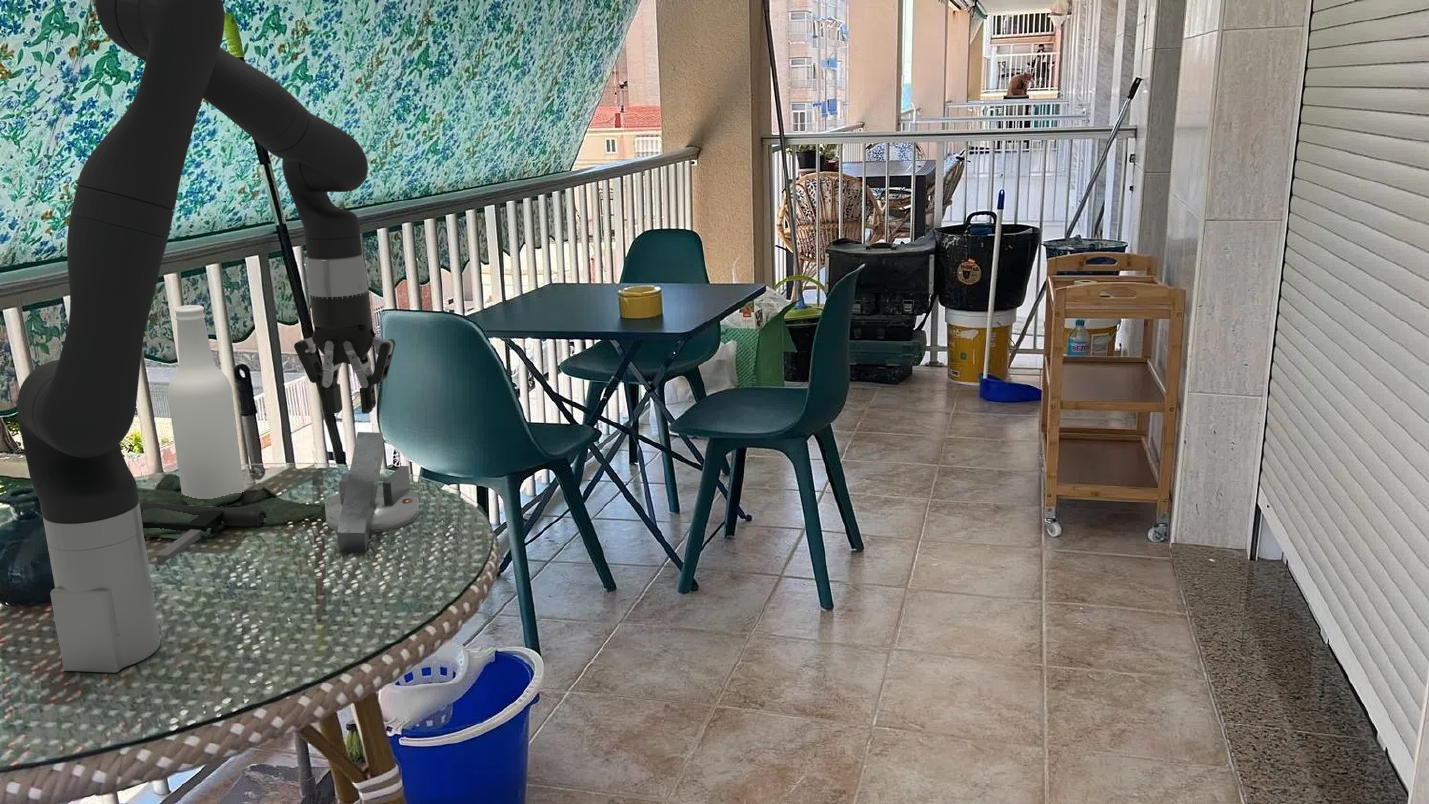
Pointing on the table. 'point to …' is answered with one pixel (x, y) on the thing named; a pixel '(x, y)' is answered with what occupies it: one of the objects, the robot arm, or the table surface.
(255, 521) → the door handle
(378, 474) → the bar
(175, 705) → the table surface
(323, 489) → the table surface
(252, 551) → the table surface
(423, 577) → the table surface
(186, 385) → the alcohol
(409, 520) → the slotted disc stand
